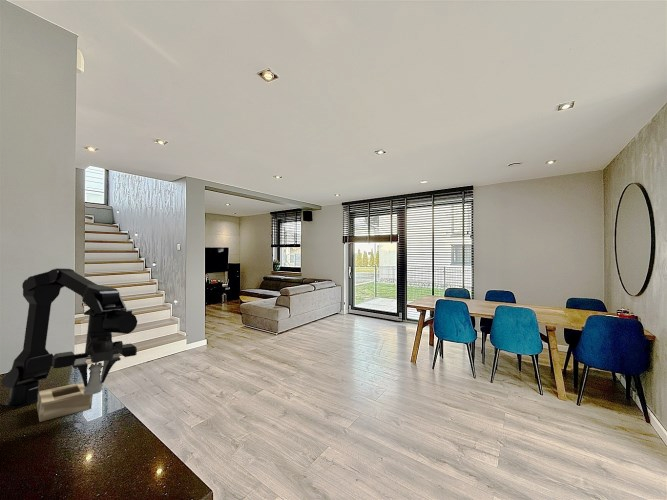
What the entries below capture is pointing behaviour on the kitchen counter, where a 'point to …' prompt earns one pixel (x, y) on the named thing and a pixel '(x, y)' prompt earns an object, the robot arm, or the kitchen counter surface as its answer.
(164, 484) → the kitchen counter surface
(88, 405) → the box
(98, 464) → the kitchen counter surface
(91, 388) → the rook chess piece
